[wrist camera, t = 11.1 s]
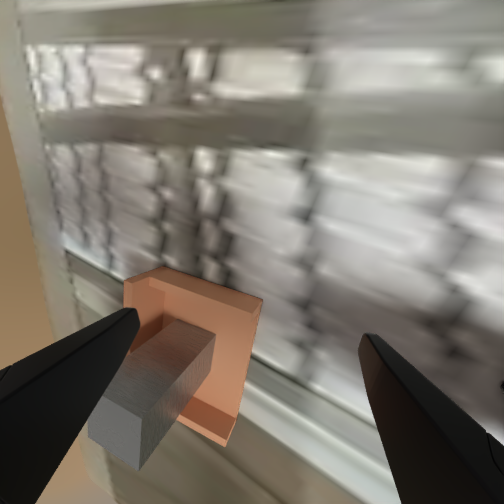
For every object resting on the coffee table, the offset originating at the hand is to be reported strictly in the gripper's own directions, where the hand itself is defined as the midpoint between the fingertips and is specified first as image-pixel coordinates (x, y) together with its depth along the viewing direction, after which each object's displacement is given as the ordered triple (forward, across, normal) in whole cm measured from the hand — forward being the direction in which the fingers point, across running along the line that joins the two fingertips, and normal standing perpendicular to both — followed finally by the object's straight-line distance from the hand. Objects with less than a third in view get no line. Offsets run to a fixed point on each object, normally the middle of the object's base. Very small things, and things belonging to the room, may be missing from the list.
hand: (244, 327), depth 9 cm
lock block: (+10, +7, +14) cm, 19 cm away
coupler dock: (+11, +6, +14) cm, 19 cm away
